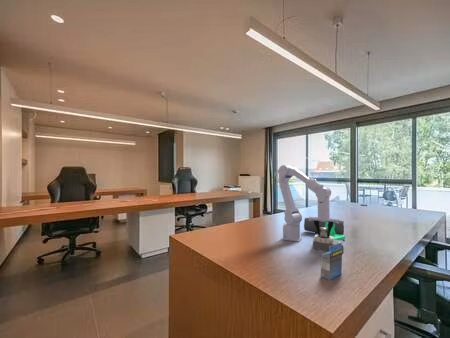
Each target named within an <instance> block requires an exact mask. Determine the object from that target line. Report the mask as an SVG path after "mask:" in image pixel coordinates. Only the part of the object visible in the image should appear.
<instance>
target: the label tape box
mask: <svg viewBox="0 0 450 338" xmlns="http://www.w3.org/2000/svg"><path fill="white" fill-rule="evenodd" d="M336 247H338V249H336V250H334V248H336ZM329 248H330V251H327V252H324V253H322V254H321V255H320V277H322V278H324V279H326V280H328V281H331V280H333V279H334V278H336V277H338V276H340V275H342V273H343V272H342V266H343V265H342V264H343V253H342V243H339V244H336V245H333V246H329Z"/></svg>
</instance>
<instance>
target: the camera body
mask: <svg viewBox="0 0 450 338" xmlns="http://www.w3.org/2000/svg"><path fill="white" fill-rule="evenodd" d="M339 243H342V254H343V253H344V240H334V239H333V237H332V236H329V237H328V238H320V236H318V234H315V235H314V238H313V240H312V249H315V250H322V251H327V252H329V251H330V248H329V246H333V245H336V244H339ZM336 249H338V247H336V248H334V250H336Z"/></svg>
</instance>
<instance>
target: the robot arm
mask: <svg viewBox="0 0 450 338" xmlns="http://www.w3.org/2000/svg"><path fill="white" fill-rule="evenodd" d="M277 175H278V180H277V181H278V185H279V188H280V192H281V195H282V200H283V202H284V203H283V204H284V206H285V211H284V213H283V214H284V221H285V223H283V225H282V240H284V241H291V242H301V240H302V237H301V232H300V231H301V222H302V220H303V216H302V214H301V213H300V210H299V208H297V207H296V205H295V204H296V203H295V202H294V198H293V197H294V196H293V194H292V191H291V187H290V184H289V181H290V179H291V178H293V177H295V178H297V179H299V181H302V182H303V183H304V184H305V187H306V188H307V189H309V190H310V191H312V192H313V193H314V194H315V197H316V198H317V216H309V217H308V218H309V221H314V224H315V226H316V229H317V232H318V234H317V235H318V236H320V229H319V228H320V222H328V237H329V236H330V231H331V228H332V226H333V224H334V223H337V224H339V221H340V219H338V218H333V217H330V216H331V215H330V197H331V195H332V191H331V189H330V188H329V187H328V186H324V184H323V183H320V182H318V181H317V179H316V178H313V177H312V178H309V177H308V176H307V175H306V174H305V173H303V172H302V171H301V170H299V168H297V167H295V166H294V165H284V164H283V165H280V166H279V168H278V169H277Z"/></svg>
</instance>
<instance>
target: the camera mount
mask: <svg viewBox="0 0 450 338" xmlns="http://www.w3.org/2000/svg"><path fill="white" fill-rule="evenodd" d="M325 228H328V222H326V224H325ZM334 228H335V224H333V226H332V228H331V231H330V236H332V237H333V239H334V240H342V241H344V240H346V236H345V235H340V234H336V232H335V230H334Z"/></svg>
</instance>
